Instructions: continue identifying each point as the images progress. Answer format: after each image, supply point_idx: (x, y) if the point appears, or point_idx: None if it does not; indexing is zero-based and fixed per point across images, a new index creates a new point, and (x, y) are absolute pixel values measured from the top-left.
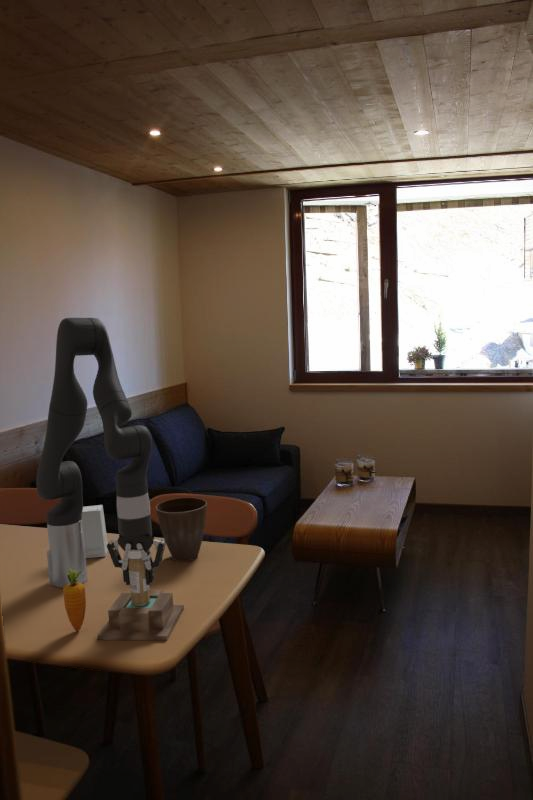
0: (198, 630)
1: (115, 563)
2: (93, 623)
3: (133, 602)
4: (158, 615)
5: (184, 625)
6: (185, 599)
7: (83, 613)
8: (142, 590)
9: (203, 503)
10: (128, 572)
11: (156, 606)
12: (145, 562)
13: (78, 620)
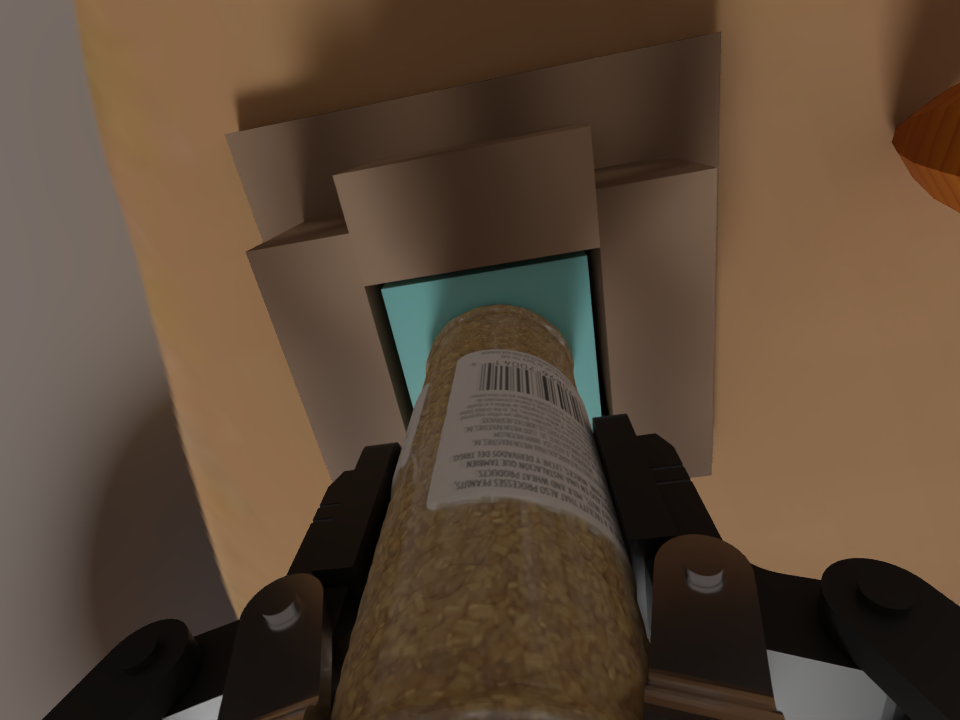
0: (146, 291)
1: (929, 626)
2: (816, 262)
3: (532, 321)
4: (289, 236)
5: (256, 332)
6: None
7: (948, 141)
8: (436, 383)
9: None
10: (622, 524)
11: (331, 313)
12: (296, 690)
13: (957, 89)
